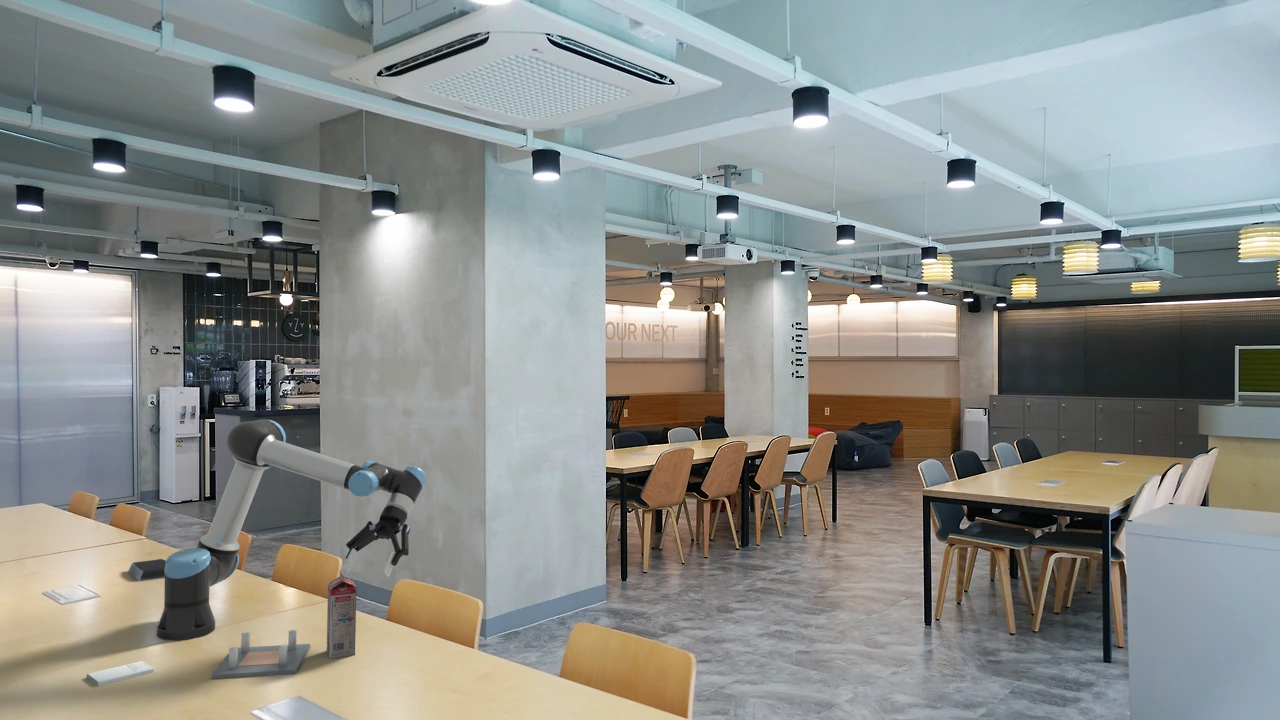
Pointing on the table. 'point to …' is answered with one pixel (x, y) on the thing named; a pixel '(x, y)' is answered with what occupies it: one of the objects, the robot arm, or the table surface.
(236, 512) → the robot arm
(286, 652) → the peg stand
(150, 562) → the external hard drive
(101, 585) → the table surface
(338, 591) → the juice carton
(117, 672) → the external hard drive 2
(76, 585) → the table surface
